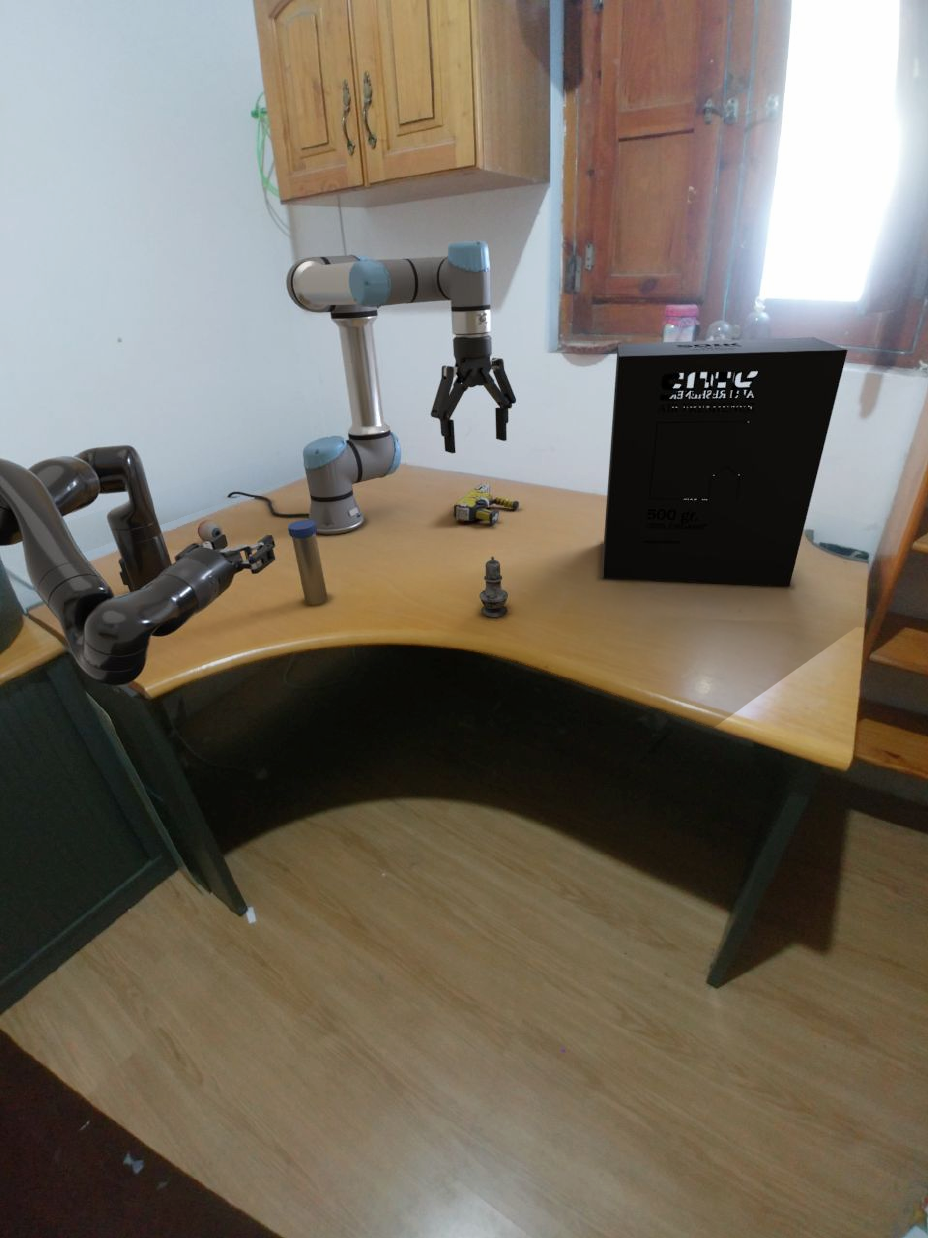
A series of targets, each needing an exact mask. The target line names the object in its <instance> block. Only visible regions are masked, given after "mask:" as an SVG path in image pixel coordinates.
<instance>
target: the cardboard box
mask: <svg viewBox="0 0 928 1238" xmlns="http://www.w3.org/2000/svg"><path fill="white" fill-rule="evenodd" d="M848 351H849V350H848V349H847V348H844V347H841V346H838V345H836V344H833V343H830V342H828V341H824V340H822V339H819V338H816V337H813V336H812V337H809V336H808V337H787V338H786V337H785V338H784V337H783V338H753V339H752V338H750V339H749V338H748V339H721V340H719V339H717V340H691V341H690V340H688V341H660V342H631V343H630V342H629V343H628V342H627V343H625V342H624V343H617V348H616V361H615V362H616V363H615V376H614V377H615V378H614V379H615V380H614V391H613V404H612V405H613V406H612V408H613V409H612V418H611V419H612V421H611V434H610V435H611V437H610V449H609V462H608V463H609V464H608V476H607V477H608V478H607V489H606V490H607V492H606V504H605V506H606V507H605V521H604V533H603V534H604V535H603V559H602V560H603V561H602V562H603V566H602V573H603V574H602V579H606V580H612V579H613V580H630V581H631V580H632V581H650V582H651V581H655V582H677V583H697V584H698V583H699V584H720V585H721V584H722V585H723V584H724V585H742V586H767V587H768V586H769V587H787V588H789V587H790V586H791V582H792V578H793V573H794V569H795V566H796V562H797V558H798V557H797V556H798V554H799V550H800V546H801V541H802V538H803V534H804V529H805V525H806V521H807V517H808V514H809V509H810V505H811V501H812V497H813V493H814V488H815V485H816V480H817V476H818V472H819V468H820V464H821V461H822V456H823V452H824V447H825V444H826V440H827V436H828V431H829V428H830V423H831V419H832V415H833V411H834V408H835V403H836V399H837V395H838V391H839V387H840V382H841V379H842V375H843V371H844V367H845V363H846V359H847V354H848ZM753 372H757V373H756V375H754V376H751V377H749V376H750V375H751V373H753ZM702 373H706V377H701V375H702ZM717 373H718V374H717ZM729 373H730V375H729ZM681 374H682V376H683V377H682V378H681ZM692 374H694V378H693V384H692V385H693V386H692V387H688V382H689V377H690V376H691V375H692ZM739 374H740V380H739V383H740V384H741V383H742V384H743V383H750V384H748V386H737V385H736V378H737V376H738V375H739ZM723 383H725V385H724V387H719V384H723ZM706 384H708V385H707V387H706ZM675 385H680V386H679V387H675Z"/></svg>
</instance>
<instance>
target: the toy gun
mask: <svg viewBox="0 0 928 1238" xmlns="http://www.w3.org/2000/svg"><path fill="white" fill-rule="evenodd" d="M493 505H495V506H500V507H504V508H510V509H512V510H514V511H516V510H518V509H519V507H520V502H519V501H518V500H512V499H508V498H504V497H500V496H496V497H495V498H493V496H492V494H491V485H490V484H488V483H486V484H485V483H482V482H481V483H480V484H479V485H477V486H476V487H475V488H473V489H471V491H469V492H468V493H467V494H465V496H464V497H462V498H461V499H460V500H459V501H458V502H456V503H455V504H454V505H453V511H452V513H453V514H452V517H453V518H454V519H455V520H457V522H462V523H464V522H465V521H467V522H471V521H477V520H482V521H483V520H484V521H486V522H489V525H492V526H493V524H495V523H497V522H498V521H499V515H500V509H498V508H494V510H493V509H492V507H491V506H493Z"/></svg>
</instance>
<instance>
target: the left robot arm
mask: <svg viewBox="0 0 928 1238" xmlns="http://www.w3.org/2000/svg"><path fill="white" fill-rule="evenodd" d="M146 475H147V474H146V471H145V468H144V464H143V461H142V458H141V455H140V454H139V451H137V450H136V448H135V447H134V446H132V445H131V444H130V445H128V444H120V445H107V446H97V447H90V448H87V449H84V450H83V451H79V453H77V454H74V455H73V456H72V455H62V456H56V457H51V458H47V459H43V460H41V461H38V462H36V463H34V464H32V465H31V466H29V468H26V467H25V466H22V465H20V464H18V463H16V462H14V461H11V460H8V459H5V458H2V457H0V547H7V546H14V545H17V544H21V543H22V549H23V556H24V562H25V567H26V571H27V575H28V578H29V581H30V582H31V585H32V587H33V589H34V591H35V593H36V594H37V595H38V596H39V598H40V599H41V600H42V601H43V603H44V605H46V607H47V609H49V611H50V612H51V613H52V614H53V616H54V617H55V618H56V619H57V621H58V623H59V625H60V627H61V629H62V633H63V635H64V638H65V640H66V642H67V644H68V647H69V649H70V652H71V653H72V656H73V658H74V659H75V661H76V663H77V665H78V666H79V667H80V669H81V670H82V671H83V673H84V674H86V675H87V676H88V677H89V678H91V679H92V680H94V681H95V682H97V683H101V684H103V685H106V686H107V685H108V686H123V685H127V684H129V683H131V682H134V681H135V680H136V679H138V677H139V676H141V674H142V672H143V671H144V669H145V666H146V663H147V659H148V653H149V647H150V642H151V637H156V638H161V637H163V638H164V637H168V636H170V635H171V634H174V633H175V632H176V631H178V630H179V629H180V628H182V627H183V626H184V625H185V624H187V622H189V621H190V620H191V619H193V617H194V616H196V615H197V614H199V613H201V612H203V611H204V610H205V609H206V608H207V607H208V606H209V605H211V604H212V603H213V602H215V600H217V599H218V598H219V597H220V596H221V595H223V593H224V592H226V591H227V590H228V589H229V588H230V587H231V585H232V582H233V580H234V577H235V575H236V574H238V573H240V572H242V571H244V570H250V572H251V574H253V575H257V574H259V573H261V572H262V571H264V569H266V568H267V567H268V566H269V565H270V564H272V563H273V562H274V561H276V554H275V552H274V548H276V542H275V538H274V537H273V535H272V534H266V535H265V536H263V537H262V538H261V539H260V540H259V541H258V542H255V543H253V544H250V545H249V544H246V543H244V544H240V545H237V546H234V547H231V548H229V547H228V546H229V543H228V539H227V535H226V534H225V533H222V534H220V535H218V536H217V537H215V538H214V539H213V540H211V541H210V542H209V541H208V542H207V541H206V542H205V541H203V542H202V544H199V543H198V542H192V543H191V544H189V545H187V547H185V548H184V549H182V550H181V551H180V552H178V553H177V554H176V555H175V556H174V560H175V562H173V561H172V560H171V556H170V553H169V550H168V547H167V544H166V540H165V538H164V534H163V532H162V529H161V526H160V522H159V519H158V517H157V516H158V515H157V513H156V510H155V505H154V501H153V497H152V494H151V490H150V487H149V484H148V479H147V476H146ZM118 493H127V495H128V500H127V501H125V502H124V503H122V504H120V505H118V506H116V507H114V508H112V509H110V511H108V513H107V514H106V520H107V523H108V526H109V528H110V531H111V533H112V536H113V540H114V541H115V544H116V547H117V549H118V552H119V556H120V558H119V559H118V564H119V567H120V569H121V571H119V572H118V574H119V577H120V579H121V582H122V585H123V586H127V588H128V592H126V593H123V594H120V595H116V596H115V594H114V592H113V589H112V588H111V586H110V585H109V584H108V582H107V581H106V580H105V579H104V578H103V577H102V575H101V574H100V573H99V572H98V571H97V569H96V568H95V567H94V566H93V565H92V563H91V562H90V561H89V560H88V559H87V557H86V556H85V555H84V553H83V552H82V550H81V548H80V547H79V546H78V544H77V543H76V541H75V539H74V536H73V534H72V533H71V531H70V529H69V527H68V525H67V523H66V520H65V519H64V517H66V516H68V515H70V514H73V513H76V512H78V511H81V510H83V509H85V508H87V507H89V506H90V505H91V504H93V503H94V502H95V501H96V500H97V499H98V497H99V495H108V494H118ZM255 550H256V552H254V553H253V551H255ZM243 551H244V553H243V554H244V556H245V560H244V559H243V556H242V553H241V552H243ZM172 562H173V563H172Z"/></svg>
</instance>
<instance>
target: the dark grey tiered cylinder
mask: <svg viewBox="0 0 928 1238" xmlns="http://www.w3.org/2000/svg"><path fill="white" fill-rule="evenodd" d="M483 579H484V581H485V589H484V590H482V591H480V593H479V594H478V597H479V600H480V601H481V604H482V605H483V606H482V608H481V609H480V610H481V614H482V615H484V616H485V617H490V618H497V617H498V618H499V617H502V616H504V615H506V614H507V612H508V607H507V606H505V605H506V603H507V601H508V600H507V599H508V598H509V593H508V591H506V590H505V589H504V588H502V580H503V576H502V575H501V563H500V562H499V560H496V559H495V557H494V556H493V555H492V556H491V557H490V559H489V560H488V561H486V562H485V575H484V576H483Z"/></svg>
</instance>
